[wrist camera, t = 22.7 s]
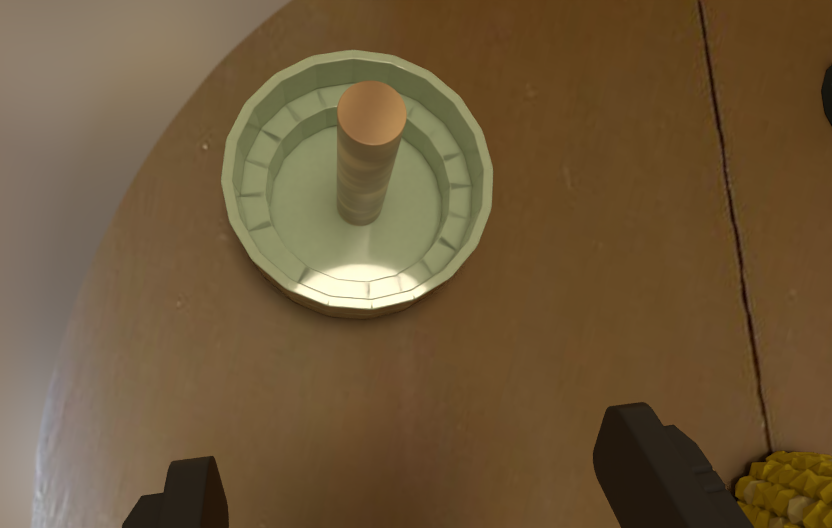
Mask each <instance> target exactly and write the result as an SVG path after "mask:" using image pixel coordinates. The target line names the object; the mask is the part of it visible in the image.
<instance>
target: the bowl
mask: <svg viewBox="0 0 832 528" xmlns="http://www.w3.org/2000/svg"><path fill="white" fill-rule="evenodd" d="M370 80H371V81H379V82H382V83H385V84H387V85H389V86H390V87H392V88H393V89H395V90H396V91H397V92H398V93H399V95H400V96H401V97H402V99H403V101H404V103H405V106H406V111H407V119H406V124H405V127H404V131H403V134H402V138H401V141H400V145H399V149H398V152H397V156H396V159H395V163H394V167H393V170H392V174H391V177H390V181H389V184H388V188H387V192H386V195H385V199H384V202H383V206H382V209H381V213H380V215H379V216H378V218H377V219H376V220H375V221H374V222H372V223H370V224H368V225H365V226H355V225H352V224H349V223H347V222H346V221H345V220H344V219H343V218H342V217H341V216H340V214H339V212H338V210H337V106H338V102H339V99H340V97H341V96H342V94H343V93H344V92H345V91H346V90H347V89H348V88H349V87H350V86H352V85H354V84H356V83H358V82H362V81H370ZM221 185H222V190H223V194H224V199H225V204H226V209H227V214H228V218H229V222H230V224H231V226H232V228H233V229H234V231H235V233H236V234H237V236H238V238H239V240H240V241H241V243H242V245H243V246H244V248H245V250H246V251H247V253H248V255H249V256H250V258H251V260H252V261H253V262H254V263H255V265H256V266H257V267H258V269H259V270H260V271H261V273H262V274H263V275H264V277H265V278H266V279H267V280H269V281H270V282H271V283H272V284H273V285H274V286H276V287H277V288H278V289H279V290H280V291H282V292H283V293H284V294H285V295H286V296H287V297H289V298H290V299H291V300H292V301H294V302H295V303H298V304H300V305H302V306H305V307H307V308H310V309H312V310H314V311H317V312H319V313H322V314H324V315H327V316H330V317H343V318H355V319H370V318H375V317H379V316H383V315H387V314H391V313H396V312H400V311H403V310H405V309H407V308H408V307H410V306H411V305H413V304H415V303H416V302H418V301H420V300H421V299H423V298H424V297H426V296H428V295H429V294H431V293H433V292H434V291H435V290H436V289H438V288H439V287H440V286H441V285H442V284H444V283H445V282H446V281H447V280H449V279H450V278H451V277H452V276H453V275H454V274H455V272H456V271H457V270H458V269H459V268H460V266H461V265H462V264H463V263H464V262H465V260H466V259H467V258H468V257H469V256H470V254H471V253H472V252H473V251H474V250H475V248H476V247H477V245H478V243H479V240H480V238H481V235H482V233H483V230H484V227H485V225H486V222H487V220H488V217H489V214H490V212H491V208H492V189H493V166H492V163H491V159H490V156H489V152H488V148H487V145H486V141H485V138H484V134H483V132H482V129H481V128H480V126H479V125H478V123H477V122H476V120H475V119H474V117H473V116H472V114H471V112H470V111H469V109H468V108H467V106H466V105H465V103H464V102H463V100H462V99H461V97H460V96H459V95H457V94H456V93H455V92H454V91H453V90H451V89H450V88H449V87H448V86H447V85H446V84H444V83H443V82H442V81H441V80H440V79H438V78H437V77H436V76H435V75H434V74H433V73H431V72H430V71H428V70H426V69H423V68H421V67H419V66H417V65H414V64H412V63H410V62H408V61H405V60H403V59H401V58H399V57H396V56H394V55H393V56H392V55H388V54H381V53H373V52H366V51H358V50H347V51H340V52H334V53H328V54H321V55H315V56H312V57H309V58H306V59H304V60H302V61H300V62H298V63H296V64H294V65H292V66H290V67H288V68H286V69H284V70H282V71H280V72H278V73H276V74H275V75H273V76H272V77H271V78H270V79H269V80H268V81H267V82H266V83H265V84H264V85H263V86H262V87H261V88H260V89H259V90H258V91H257V92H256V93H255V94H254V95H253V96H251V97H250V98H249V99H248V100H247V101H246V103H245V104H244V106H243V108H242V110H241V112H240V114H239V116H238V118H237V119H236V121H235V123H234V125H233V127H232V129H231V131H230V133H229V135H228V137H227V140H226V145H225V153H224V160H223V167H222V174H221Z"/></svg>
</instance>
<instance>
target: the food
mask: <svg viewBox="0 0 832 528" xmlns="http://www.w3.org/2000/svg"><path fill="white" fill-rule="evenodd" d="M765 460H766V462H752V464H751V468H750V472H749V475H748V476H744V477H742V478H740V479H739V481H738V482H737V484H736V485H735V496H736V497H737V498H738V499H740V500H738V501H737V503H738V505H739V506H740V507H741V509H742V510H743V512H744V513H745V515H746V516H747V518H748V519H749V520H750V522H751V523H752V525H753V526H754V528H832V456H830V455H826V454H818V453H814V452H791V453H786V452H785V451H776V452H775V453H773V454H771V455H770V456H768V457H767V458H766V459H765Z"/></svg>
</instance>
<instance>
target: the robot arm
mask: <svg viewBox="0 0 832 528" xmlns="http://www.w3.org/2000/svg"><path fill="white" fill-rule="evenodd" d="M593 464H594V470H595V473H596V476H597V479H598V481H599V483H600V485H601V487H602V489H603V491H604V493H605V496H606V498H607V500H608V502H609V504H610V506H611V508H612V510H613V512H614V514H615V516H616V518H617V520H618V522H619V524H620V526H621V528H754V526H753V525H752V523H751V522H750V520H749V519H748V518H747V516H746V515H745V513H744V512H743V510H742V509H741V507H740V506H739V505H738V503H737V502H736V500H735V499H734V497H733V496H732V494H731V493H730V492H729V490H726V488H725V484H724V483H723V481H722V480H721V479H720V477H719V476H718V474H717V473H716V471H713V470H712V466H711V464H710V463H709V461H708V460H707V458H706V457H705V455H704V454H703V453H702V451H701V450H700V448H699V447H698V445H697V444H696V443H695V442H694V441H693V440H691V439H690V438H689V437H688V436H686V435H685V434H684V433H683V432H682V431H680V430H679V429H678V428H677V427H676V426H674V425H669V426H663V425H662V423H661V422H660V420H659V419H658V417H657V415H656V414H655V412H654V411H653V410H652V408H651V407H650V406H649V405H648V404H646V403H644V402H640V403H632V404H624V405H617V406H610V407H608V408H607V410H606V412H605V415H604V418H603V421H602V424H601V428H600V431H599V434H598V437H597V440H596V444H595V447H594V451H593ZM122 528H229V516H228V505H227V500H226V496H225V493H224V489H223V486H222V482H221V478H220V475H219V471H218V468H217V464H216V461H215V458H214V457H213V456H208V457H200V458H193V459H185V460H177V461H172V462H171V464H170V466H169V469H168V472H167V477H166V482H165V487H164V492H163V493H158V494H151V495H144V496H141V497H140V499H139V500H138V502H137V503H136V505H135V506H134V508H133V509H132V511H131V512H130V514H129V515H128V517H127V518H126V520H125V521H124V523H123V525H122Z"/></svg>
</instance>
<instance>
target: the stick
mask: <svg viewBox="0 0 832 528" xmlns="http://www.w3.org/2000/svg"><path fill="white" fill-rule="evenodd" d="M406 119H407V111H406V106H405V103H404V101H403V99H402V97H401V96H400V95H399V93H398V92H397V91H396V90H395V89H393V88H392V87H390V86H389V85H387V84H385V83H382V82H379V81H371V80H370V81H362V82H358V83H356V84H354V85H352V86H350V87H349V88H348V89H347V90H346V91H345V92H344V93H343V94H342V96H341V97H340V99H339V102H338V106H337V210H338V212H339V214H340V216H341V217H342V218H343V219H344V220H345V221H346V222H347V223H349V224H352V225H355V226H365V225H368V224H370V223H372V222H374V221H375V220H376V219H377V218H378V216H379V215H380V213H381V209H382V206H383V202H384V199H385V195H386V192H387V188H388V184H389V181H390V177H391V174H392V170H393V167H394V163H395V159H396V156H397V152H398V149H399V145H400V141H401V138H402V134H403V131H404V127H405V124H406Z"/></svg>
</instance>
